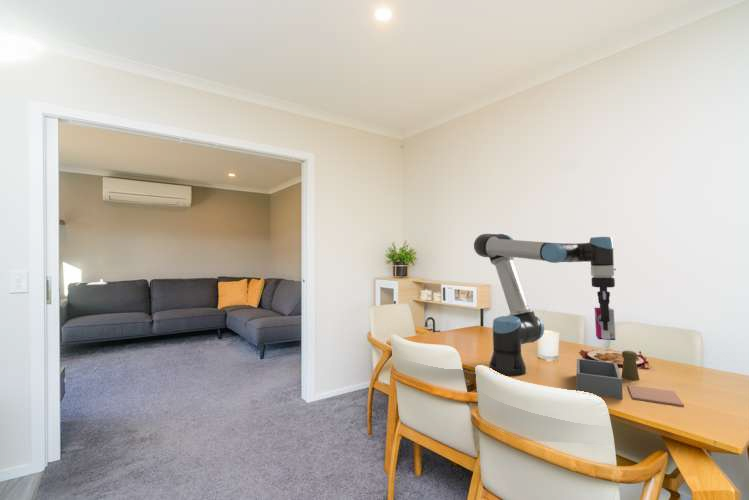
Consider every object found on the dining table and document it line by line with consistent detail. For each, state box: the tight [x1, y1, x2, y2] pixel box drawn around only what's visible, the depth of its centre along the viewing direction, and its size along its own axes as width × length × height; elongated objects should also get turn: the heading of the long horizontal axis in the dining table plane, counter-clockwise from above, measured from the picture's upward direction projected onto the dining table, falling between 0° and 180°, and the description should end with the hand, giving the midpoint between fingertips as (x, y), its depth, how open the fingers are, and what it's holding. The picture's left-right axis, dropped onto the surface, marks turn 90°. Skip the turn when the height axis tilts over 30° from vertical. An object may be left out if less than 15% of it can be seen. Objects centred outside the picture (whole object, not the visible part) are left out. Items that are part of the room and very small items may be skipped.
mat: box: [627, 384, 685, 408], centre depth 128 cm, size 14×14×1 cm
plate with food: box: [580, 349, 651, 371], centre depth 171 cm, size 25×26×4 cm
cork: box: [621, 350, 640, 381], centre depth 147 cm, size 6×6×11 cm
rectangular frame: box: [575, 358, 623, 400], centre depth 139 cm, size 14×22×7 cm, turn 150°
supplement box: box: [594, 307, 616, 341], centre depth 137 cm, size 6×6×12 cm
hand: (605, 337), depth 137 cm, fingers closed on supplement box, 6 cm apart
